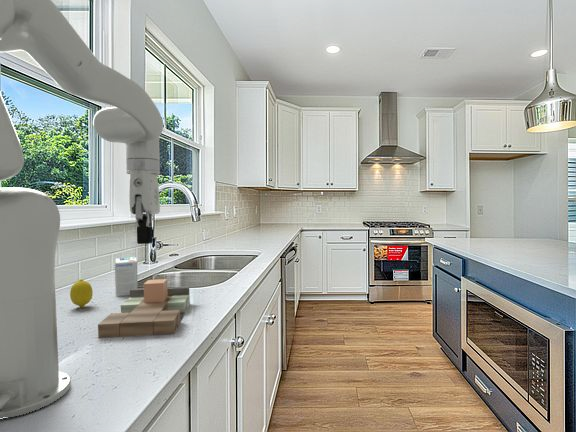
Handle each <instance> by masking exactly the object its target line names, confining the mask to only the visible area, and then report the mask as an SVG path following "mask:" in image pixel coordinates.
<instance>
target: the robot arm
mask: <svg viewBox="0 0 576 432" xmlns="http://www.w3.org/2000/svg"><path fill="white" fill-rule="evenodd" d="M19 51H20V52H21V51H23V52H24V53H26V54H27V55H28V56H29V57H30V58H31V59H32V60H33V61H34V62H35V63H36V64H37V65H38V66H39V67H40V68H41V69H42V70H43V71H44V72H45V73H46V75H48V76H49V78H51V79H52V80H53V81H54V82H55V83H56V84H57V85H58V87H59V88H60V89H62V90H63V91H64V92H66V93H68V94H70V95H73V96H76V97H79V98H83V99H86V100H89V101H95V102H98V103H102V104H105V105H106V104H107V105H109V106H112V107H105V108H102V109H100V110H98V111H97V112H96V113H95V114H94V117H93V120H92V125H93V128H94V130H95V132H96V134H97V135H98V136H99V137H100V138H101V139H103V140H104V141H106V142H110V143H119V144H120V143H121V144H125V147H126V148H125V150H126V160H125V161H126V174H127V175H129V194H128V196H129V200H128V201H129V211H130V213H131V214H133V215H135V222H136V243H137V244H138V245H140V244H141V245H148V244H152V243H153V215H158V214H159V213H160V212H161V207H160V206H161V205H160V191H159V180H158V175H160V174H161V173H160V172H161V171H160V170H161V168H160V166H161V165H160V164H161V163H160V161H161V160H160V157H161V156H160V136H161V135H162V133H163V130H164V122H163V121H164V120H163V118H162V114H161V113H160V110H159V108H158V107H157V106H156V104H155V103H154V101H153V100H152V98H151V97H150V95H149V94H148V93H147V91H146V90H145V88H143V87H142V86H140V84H138V83H137V82H135V81H134V80H132V79H130V78H129V77H127V76H125V75H124V74H122V73H121V72H120V71H117V70H115V69H113V68H111V67H110V66H107V65H106V64H103V63H102V62H101V61H99V59H98V58H97V57H96V55H95V54H94V53H93V52H92V50H91V49H90V48H89V46H88V45H87V44H86V42H85V41H84V40H83V38H81V36H80V35H79V34H78V32H77V31H76V30H75V29H74V27H73V26H72V24H71V23H70V22H69V20H68V19H67V18H66V17H65V16H64V14H63V13H62V12H61V10H60V9H59V8H58V7H57V5H56V4H55V3H54V1H52V0H0V53H9V52H19ZM21 144H22V143H21V141H20V138H19V137H18V133H17V131H16V129H15V126H14V124H13V121H12V119H11V115H10V113H9V111H8V108H7V106H6V103H5V100H4V98H3V95H2V93H1V92H0V182H1V181H6V180H9V179H12V178H13V177H15V176H16V175H18V174H19V173H20V172H21V171H22V169H23V166H24V162H25V157H24V153H23V147H22V145H21ZM60 227H61V214H60V210H59V207H58V206H57V203H56V202H55V201H54V200H53V199H52V198H51V197H50V196H48V195H47V194H45V193H43V192H42V191H39V190H36V189H32V188H27V187H0V418H3V417H13V416H17V417H20V416H24V415H27V414H30V413H33V412H36V411H38V410H41V409H43V408H45V407H47V406H49V405H51V404H53V403H55V402H56V401H58V400H59V399H61V398H62V397H64V396H65V395H66V394H67V392H68V391H69V390H70V388H71V386H72V385H71V383H72V382H71V381H72V380H71V376H70V375H69V374H68V373H65V372H63V371H60V370H59V369H60V368H59V350H58V349H59V347H58V346H59V345H58V326H57V325H58V322H57V321H58V320H57V301H56V300H57V298H56V297H57V295H56V281H55V280H56V279H55V278H56V277H55V275H56V274H55V271H56V269H55V267H56V266H55V261H56V249H57V244H58V238H59V235H60ZM60 397H61V398H60ZM57 399H58V400H57ZM54 401H55V402H54ZM50 403H51V404H50ZM44 406H45V407H44ZM42 407H43V408H42ZM40 408H41V409H40ZM35 410H36V411H35ZM32 411H33V412H32ZM29 412H30V413H29ZM26 413H27V414H26ZM23 414H24V415H23ZM19 415H20V416H19ZM13 418H14V417H13Z"/></svg>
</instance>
